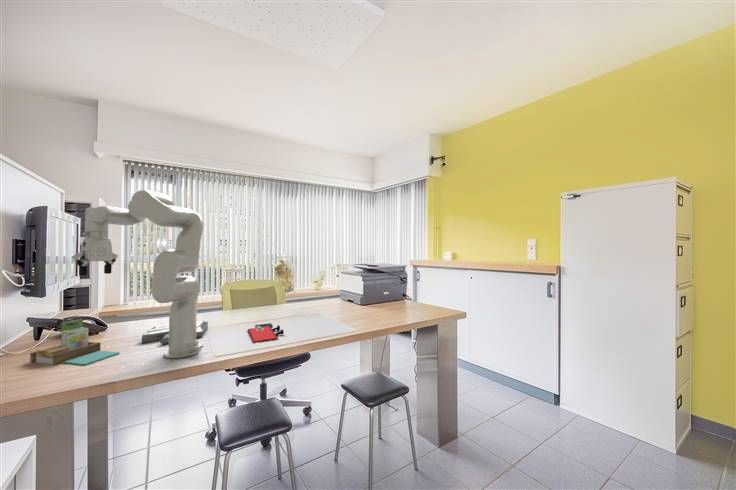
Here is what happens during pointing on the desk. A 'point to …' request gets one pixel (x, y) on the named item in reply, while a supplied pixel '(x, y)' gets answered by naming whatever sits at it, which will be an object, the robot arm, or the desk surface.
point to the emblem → (163, 333)
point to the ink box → (74, 335)
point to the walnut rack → (71, 353)
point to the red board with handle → (264, 333)
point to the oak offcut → (51, 351)
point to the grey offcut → (44, 360)
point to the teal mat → (91, 358)
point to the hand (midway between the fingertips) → (95, 274)
